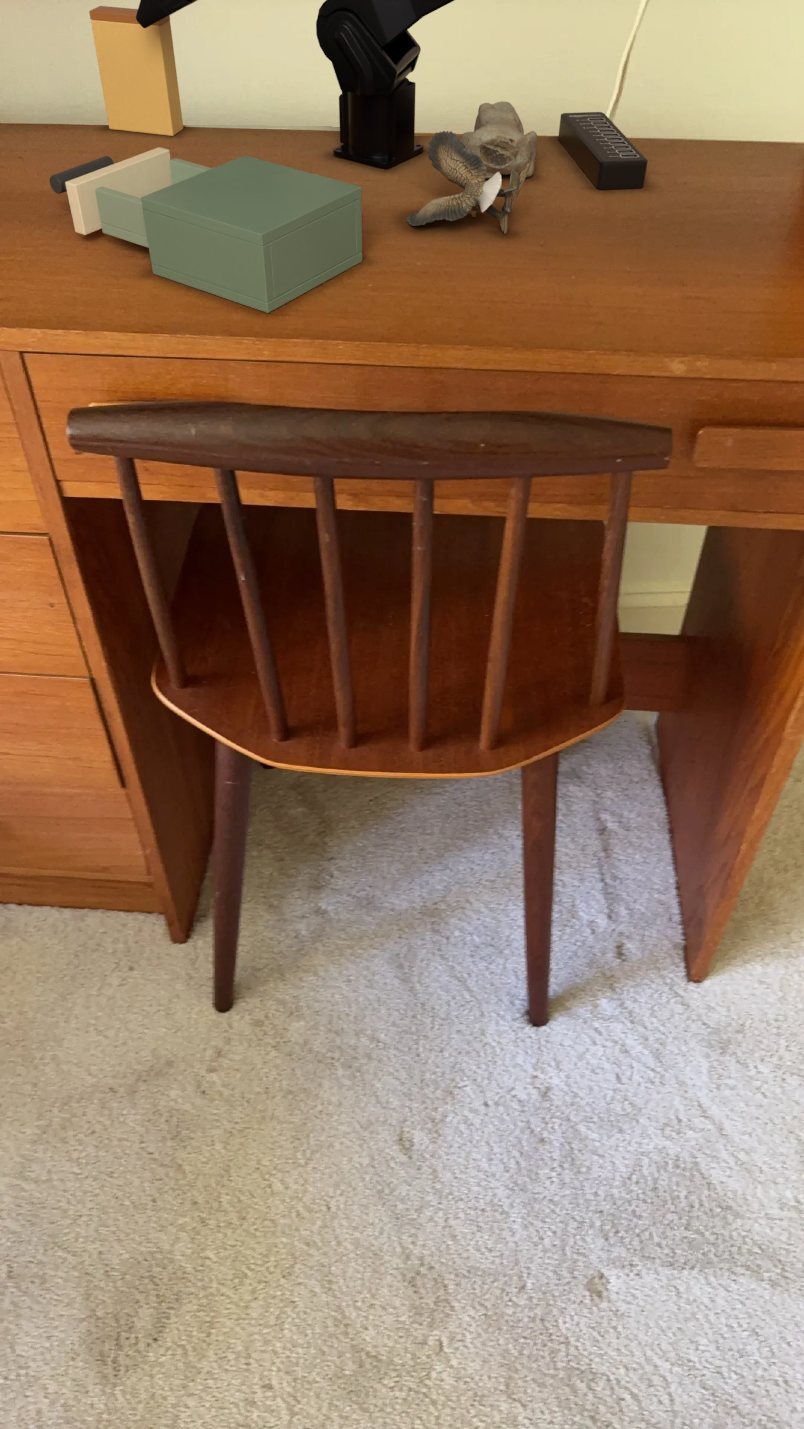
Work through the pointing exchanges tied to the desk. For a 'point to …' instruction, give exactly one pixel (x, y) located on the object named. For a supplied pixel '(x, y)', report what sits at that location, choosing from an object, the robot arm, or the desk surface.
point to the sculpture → (501, 140)
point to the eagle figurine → (466, 184)
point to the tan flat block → (137, 72)
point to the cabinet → (254, 231)
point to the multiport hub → (602, 151)
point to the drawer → (119, 191)
